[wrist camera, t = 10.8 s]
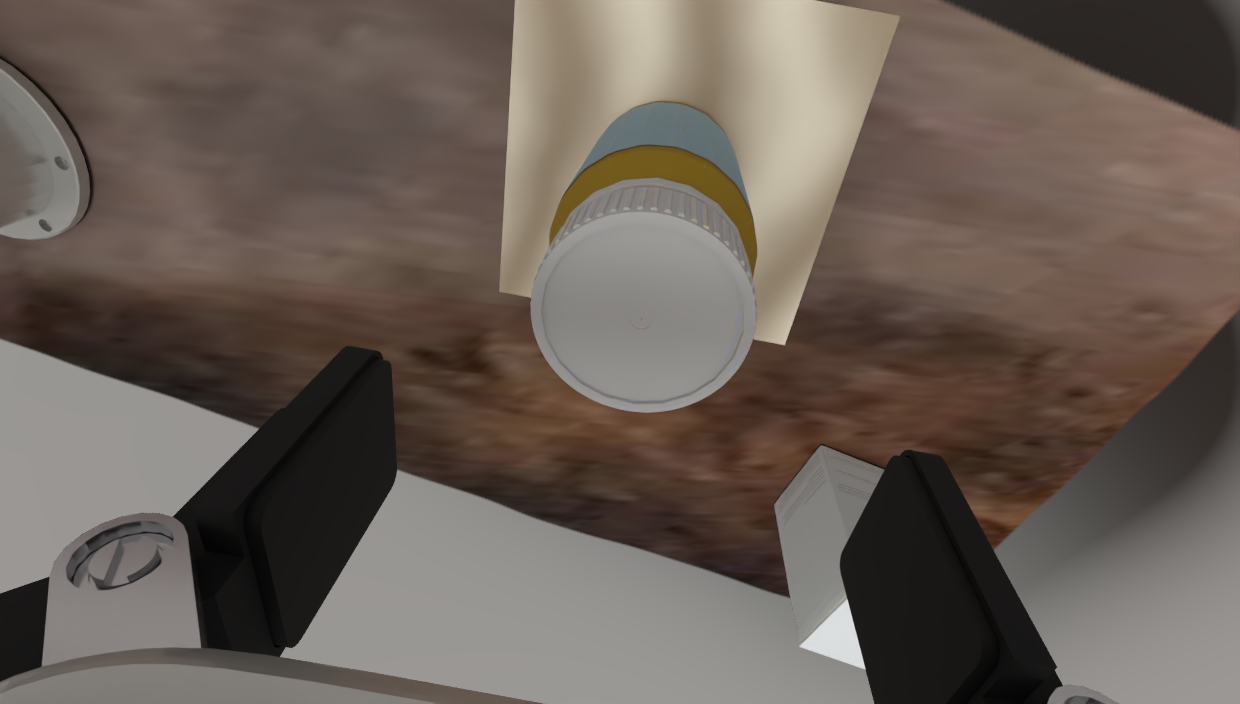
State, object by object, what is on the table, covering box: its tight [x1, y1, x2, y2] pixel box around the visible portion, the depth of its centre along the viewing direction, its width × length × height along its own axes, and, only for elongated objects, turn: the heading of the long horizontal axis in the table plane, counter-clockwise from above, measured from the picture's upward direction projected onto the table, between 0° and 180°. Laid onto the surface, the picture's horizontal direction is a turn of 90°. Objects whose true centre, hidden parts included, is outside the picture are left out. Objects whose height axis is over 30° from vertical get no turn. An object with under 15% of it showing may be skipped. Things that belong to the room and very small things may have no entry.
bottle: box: [530, 101, 758, 412], centre depth 23 cm, size 7×7×15 cm
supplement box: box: [774, 445, 884, 670], centre depth 42 cm, size 7×7×13 cm
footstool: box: [499, 0, 900, 345], centre depth 32 cm, size 16×16×8 cm
